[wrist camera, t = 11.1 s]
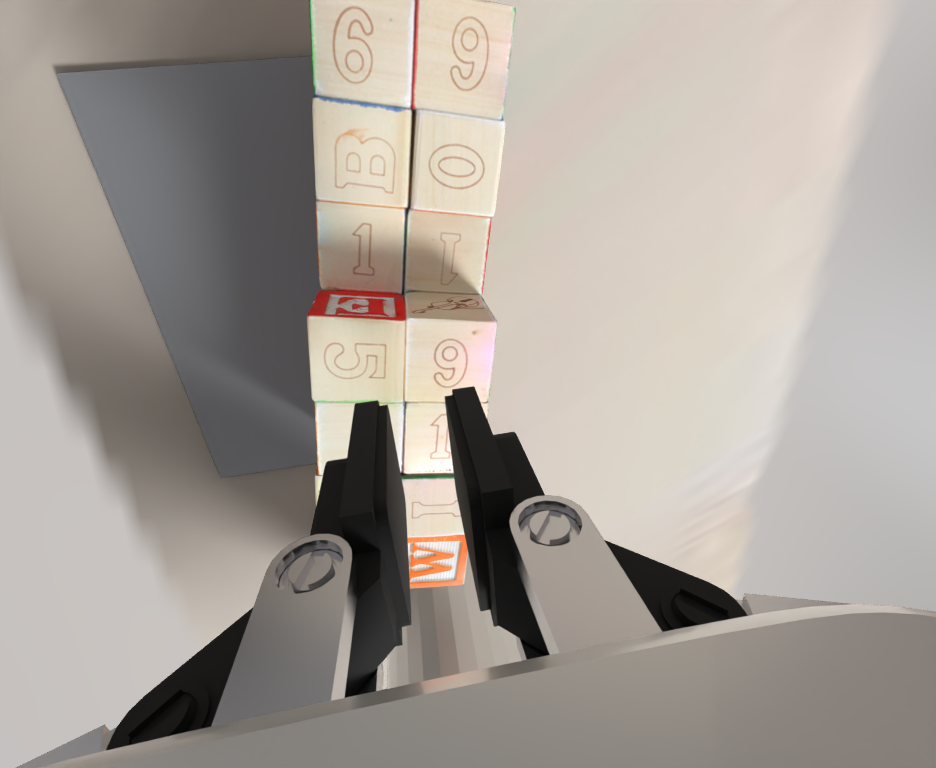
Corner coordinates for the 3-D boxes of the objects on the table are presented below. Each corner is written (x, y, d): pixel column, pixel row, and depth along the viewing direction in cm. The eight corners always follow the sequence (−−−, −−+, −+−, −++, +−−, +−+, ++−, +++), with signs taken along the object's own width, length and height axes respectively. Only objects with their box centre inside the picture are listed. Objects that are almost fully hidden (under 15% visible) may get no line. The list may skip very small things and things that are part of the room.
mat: (463, 437, 32) (463, 440, 31) (222, 474, 30) (220, 478, 30) (422, 50, 22) (423, 48, 21) (62, 74, 20) (56, 73, 20)
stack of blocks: (339, 40, 21) (284, -95, 10) (473, 63, 22) (558, -37, 11) (342, 439, 30) (315, 600, 19) (438, 440, 31) (465, 592, 20)
